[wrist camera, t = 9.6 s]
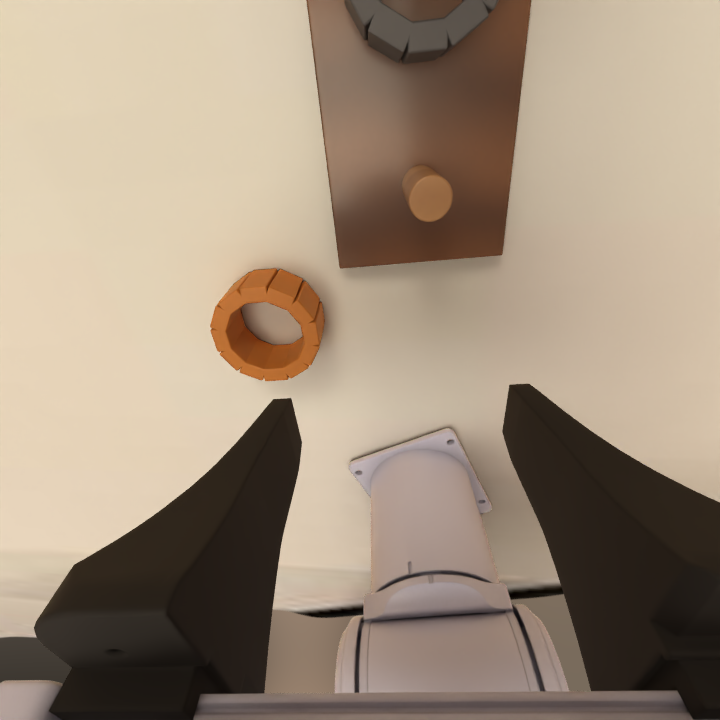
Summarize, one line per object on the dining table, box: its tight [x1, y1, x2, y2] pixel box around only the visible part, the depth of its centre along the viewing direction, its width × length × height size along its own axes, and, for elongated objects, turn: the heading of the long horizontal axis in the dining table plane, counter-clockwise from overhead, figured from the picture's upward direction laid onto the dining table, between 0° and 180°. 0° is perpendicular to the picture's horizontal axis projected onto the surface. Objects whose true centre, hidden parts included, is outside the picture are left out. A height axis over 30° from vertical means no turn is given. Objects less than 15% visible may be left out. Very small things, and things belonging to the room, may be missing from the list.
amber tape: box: [210, 268, 325, 381], centre depth 20 cm, size 5×5×3 cm
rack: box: [307, 0, 531, 268], centre depth 13 cm, size 14×8×4 cm, turn 5°
